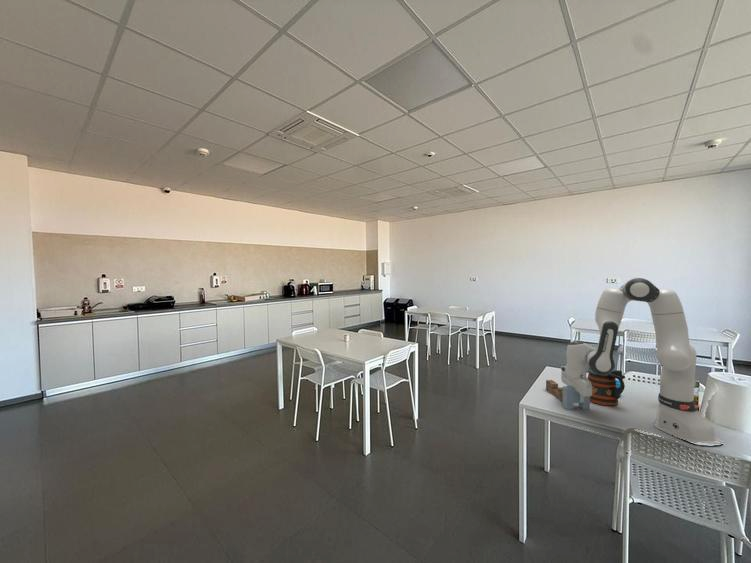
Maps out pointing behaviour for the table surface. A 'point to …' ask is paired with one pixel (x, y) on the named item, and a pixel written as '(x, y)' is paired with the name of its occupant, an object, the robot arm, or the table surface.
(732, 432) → the table surface
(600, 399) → the beer stein
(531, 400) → the table surface
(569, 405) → the light blue block
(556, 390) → the walnut rail
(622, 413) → the table surface
